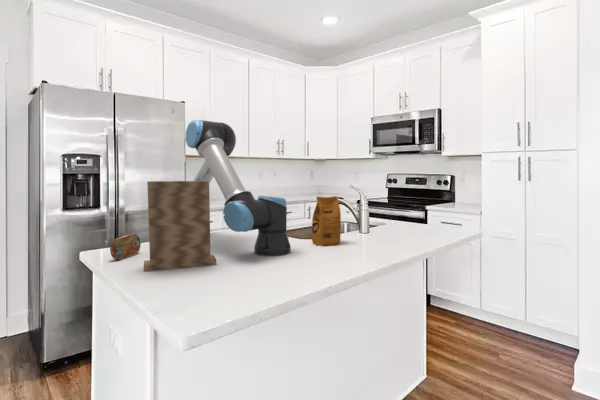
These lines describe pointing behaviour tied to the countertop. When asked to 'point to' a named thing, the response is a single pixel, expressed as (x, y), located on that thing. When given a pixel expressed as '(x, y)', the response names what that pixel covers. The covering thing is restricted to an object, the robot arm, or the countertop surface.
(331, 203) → the coffee package
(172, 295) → the countertop surface
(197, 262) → the stand
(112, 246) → the tin
